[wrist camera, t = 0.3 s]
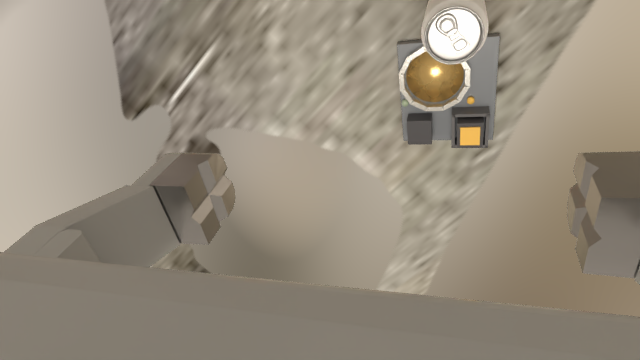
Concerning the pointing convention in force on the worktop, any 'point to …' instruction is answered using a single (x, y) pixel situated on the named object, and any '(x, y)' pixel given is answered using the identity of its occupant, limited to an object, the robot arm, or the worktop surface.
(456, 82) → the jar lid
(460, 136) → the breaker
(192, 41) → the worktop surface
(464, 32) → the can
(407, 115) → the panel
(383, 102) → the worktop surface
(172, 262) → the worktop surface
